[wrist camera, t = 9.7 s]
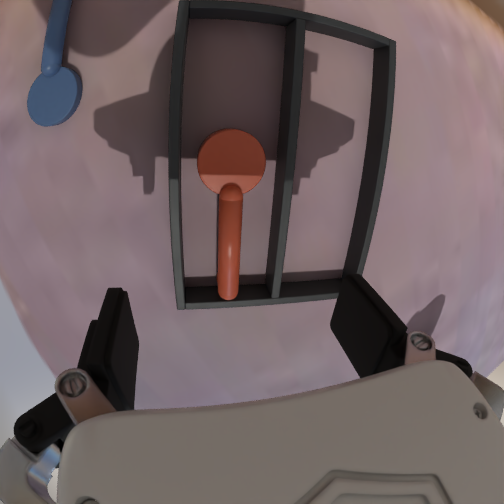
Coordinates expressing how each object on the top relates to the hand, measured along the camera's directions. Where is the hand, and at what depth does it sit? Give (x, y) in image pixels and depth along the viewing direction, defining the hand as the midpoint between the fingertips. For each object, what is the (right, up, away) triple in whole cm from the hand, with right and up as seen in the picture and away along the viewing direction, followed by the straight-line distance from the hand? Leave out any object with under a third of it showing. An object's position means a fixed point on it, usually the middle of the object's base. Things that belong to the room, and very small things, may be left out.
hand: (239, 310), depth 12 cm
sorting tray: (+2, +9, +7) cm, 11 cm away
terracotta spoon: (-1, +5, +7) cm, 9 cm away
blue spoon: (-12, +16, 0) cm, 20 cm away
